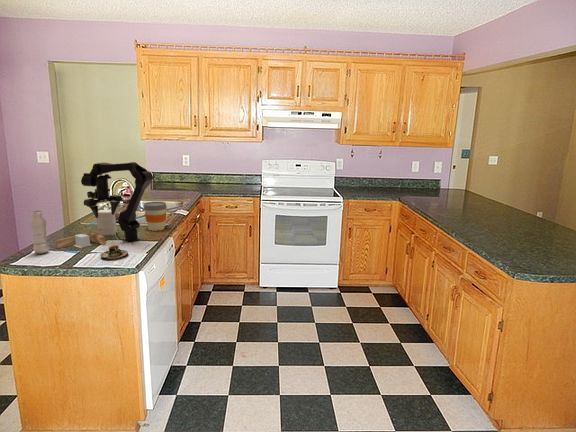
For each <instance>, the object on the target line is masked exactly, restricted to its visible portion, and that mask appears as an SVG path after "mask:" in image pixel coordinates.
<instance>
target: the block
mask: <svg viewBox="0 0 576 432" xmlns="http://www.w3.org/2000/svg"><path fill="white" fill-rule="evenodd" d="M74 236H75V243H76V244H75V245H77V246H81V247H83V248H86V247H90V246H91V245H90V244H91V241H90V238H89V235H85V233H79V234H75V235H74ZM89 245H90V246H89ZM85 246H86V247H85Z"/></svg>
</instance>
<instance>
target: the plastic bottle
mask: <svg viewBox="0 0 576 432" xmlns="http://www.w3.org/2000/svg"><path fill="white" fill-rule="evenodd" d="M29 224H30V228H31V232H32V235H33V249H32V250H33V251H34V252H35V254H39V255H41V254H46V253H48V252H49V251H50V244H49V240H48V237H47V220H46V219H45V218H44V217H43V213H42V211H41V210H34V211H32V218H31V220H30V223H29Z"/></svg>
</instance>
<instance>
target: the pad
mask: <svg viewBox="0 0 576 432" xmlns="http://www.w3.org/2000/svg"><path fill="white" fill-rule="evenodd" d="M90 246H92V243H90V245H89V246H88V247H90ZM73 247H77V248H79V249H82V248H86V247H87V246H85V247H81V246H77V245H76V244H75V245H73Z"/></svg>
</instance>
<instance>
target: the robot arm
mask: <svg viewBox="0 0 576 432" xmlns="http://www.w3.org/2000/svg"><path fill="white" fill-rule="evenodd" d="M126 171H128V172H130V175H131V176H132V177H133V178H134V185H135V187H134V189H133V192H132V195H131V197H130V200H129V201H128V204H127V207H126V209H125V210H122V211H120V212H119V215H118V217H117V219H118V220H117V223H118V225H119V227H120V229H121V231H122V232H124V239H122V242H126V243H129V244H131V243H134V242H138V241H141V238H138V229H139V228H140V226H141V223H140V222H139V221H138V220H137V213H136V212H137V210H138V207H139V205H140V203H141V200H142V198H143V196H144V193H145V191H146V190H147V188H148V187H149V186H150V184H152V182H153V180H154V175H153V173H152V172H151V171H148V170H147V169H146V168H145V167H143V166H142V165H139V164H138V163H137V162H135V161H132V162H123V163H110V162H96V163H93V165H92V168H91V170H90V172H84V173H83V176H81V180H80V183H81V185H82V186H83V187H96V188H95V189H94V192H93V191H88V192H86V193H87V194H86V195H87V198H86V199H84V200H83V206H86V207H88V208H90V209H91V211H92V213H93V215H94V217H95V218H96V219H97V218H98V211H99V206H98V204H100V203H106V202H109V203H110V204H109V205H110V210H111V213H112V215H114V213H115V214H116V210H117V207H118V206H119V204H120V203H121V202H123V197H122V195H119V194H112V195H110V192H111V189H110V188H109V179H110V180H111V179H112V176H111V175H109V174H108V173H112V172H126Z"/></svg>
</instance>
